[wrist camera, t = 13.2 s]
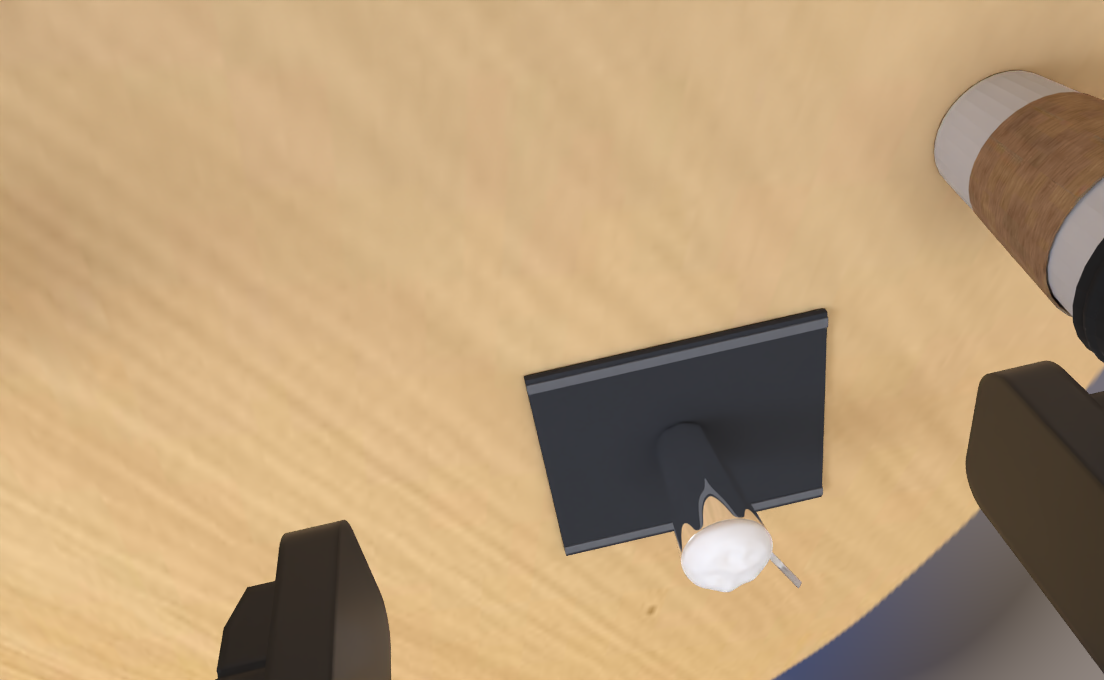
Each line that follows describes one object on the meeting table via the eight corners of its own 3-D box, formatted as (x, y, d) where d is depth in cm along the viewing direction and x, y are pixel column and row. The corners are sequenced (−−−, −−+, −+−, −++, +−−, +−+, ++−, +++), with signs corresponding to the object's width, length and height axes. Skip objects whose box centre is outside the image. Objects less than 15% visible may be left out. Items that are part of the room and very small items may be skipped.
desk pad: (565, 551, 54) (566, 557, 53) (523, 376, 45) (524, 381, 45) (819, 492, 54) (822, 498, 54) (824, 307, 46) (828, 313, 45)
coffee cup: (1118, 67, 40) (1432, 221, 28) (1014, 227, 45) (1247, 420, 33) (970, 19, 38) (1245, 165, 26) (875, 194, 42) (1071, 389, 30)
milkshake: (722, 473, 51) (785, 616, 43) (634, 472, 50) (682, 618, 42) (745, 413, 49) (816, 553, 41) (653, 411, 48) (707, 554, 40)
